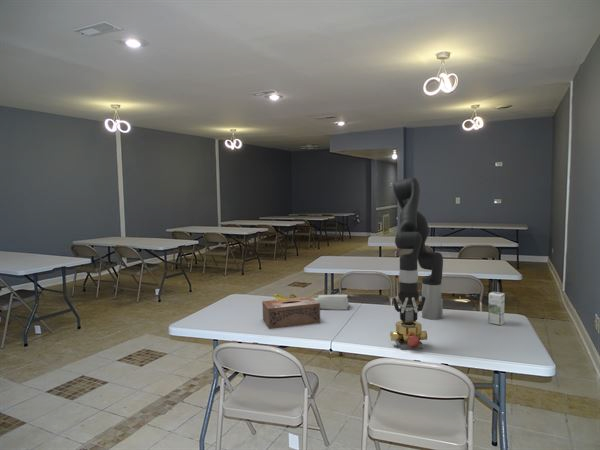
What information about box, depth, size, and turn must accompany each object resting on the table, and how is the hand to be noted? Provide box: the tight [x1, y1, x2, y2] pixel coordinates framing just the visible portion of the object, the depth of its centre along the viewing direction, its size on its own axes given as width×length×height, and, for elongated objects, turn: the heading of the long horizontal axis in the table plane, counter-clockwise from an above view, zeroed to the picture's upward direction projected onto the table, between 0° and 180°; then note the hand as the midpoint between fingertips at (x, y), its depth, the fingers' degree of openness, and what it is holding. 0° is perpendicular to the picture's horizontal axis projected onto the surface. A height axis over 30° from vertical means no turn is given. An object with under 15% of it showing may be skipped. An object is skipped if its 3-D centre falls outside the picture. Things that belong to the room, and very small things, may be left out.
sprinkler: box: [273, 293, 298, 300], centre depth 235 cm, size 22×6×20 cm
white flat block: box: [312, 294, 349, 311], centre depth 235 cm, size 8×23×25 cm
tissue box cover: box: [262, 296, 321, 330], centre depth 205 cm, size 26×14×10 cm, turn 106°
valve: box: [389, 320, 428, 351], centre depth 169 cm, size 14×12×9 cm
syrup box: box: [487, 291, 506, 326], centre depth 195 cm, size 6×6×14 cm
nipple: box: [403, 305, 414, 326], centre depth 169 cm, size 4×4×9 cm
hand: (408, 320), depth 169 cm, fingers closed on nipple, 4 cm apart
